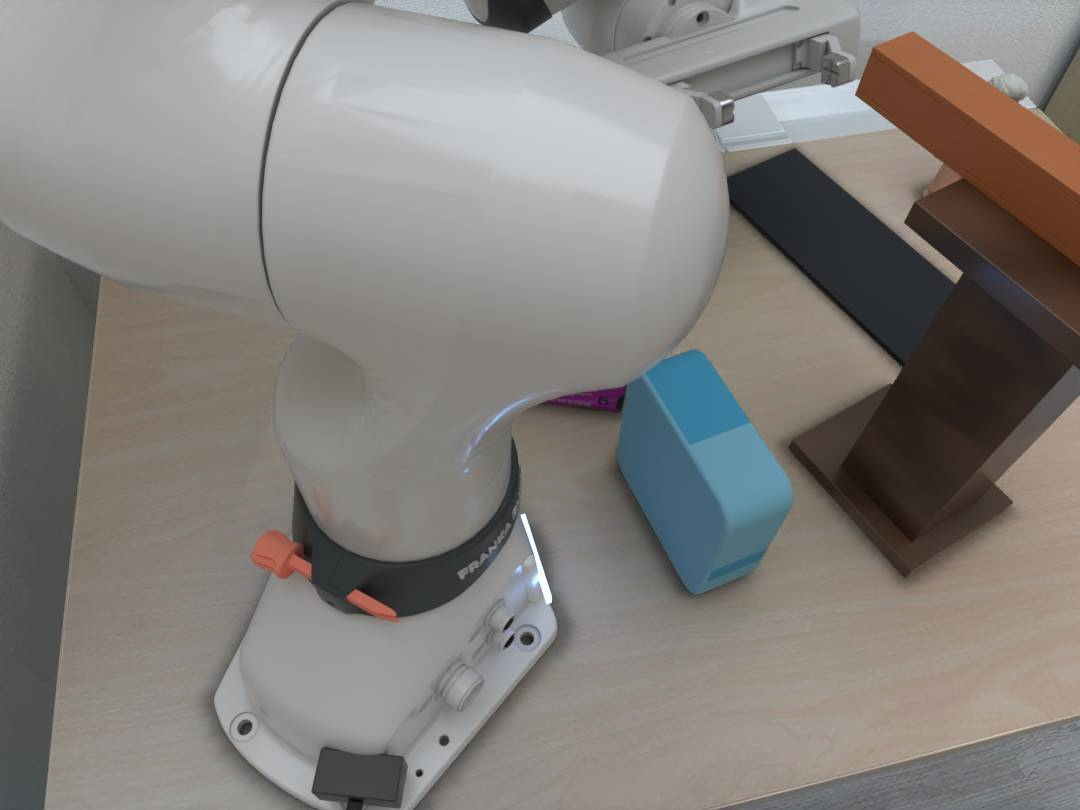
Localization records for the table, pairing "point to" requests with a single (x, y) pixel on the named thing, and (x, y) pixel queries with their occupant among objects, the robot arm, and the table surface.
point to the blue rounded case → (701, 472)
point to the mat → (843, 249)
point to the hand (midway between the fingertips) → (787, 93)
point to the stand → (958, 387)
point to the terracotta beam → (979, 135)
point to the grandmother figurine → (1008, 86)
